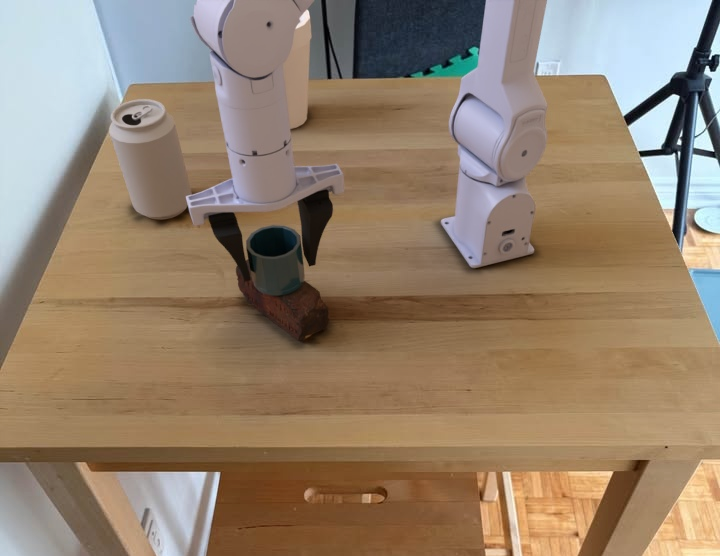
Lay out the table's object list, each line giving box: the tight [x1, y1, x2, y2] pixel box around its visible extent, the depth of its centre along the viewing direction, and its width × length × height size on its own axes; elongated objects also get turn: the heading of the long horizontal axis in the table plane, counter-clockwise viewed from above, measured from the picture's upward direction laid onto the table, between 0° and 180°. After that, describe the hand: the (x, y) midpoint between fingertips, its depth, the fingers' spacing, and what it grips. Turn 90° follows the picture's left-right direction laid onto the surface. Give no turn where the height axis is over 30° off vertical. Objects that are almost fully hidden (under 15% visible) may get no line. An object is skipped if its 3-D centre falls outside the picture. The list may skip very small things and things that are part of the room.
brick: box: [235, 259, 330, 342], centre depth 76 cm, size 11×4×5 cm, turn 44°
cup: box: [245, 224, 306, 296], centre depth 72 cm, size 5×6×4 cm
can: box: [108, 98, 193, 220], centre depth 85 cm, size 8×8×12 cm
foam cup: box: [283, 9, 313, 130], centre depth 96 cm, size 10×9×13 cm
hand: (277, 267), depth 73 cm, fingers open, 6 cm apart
